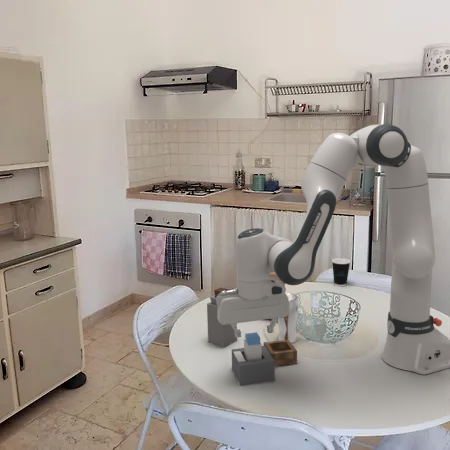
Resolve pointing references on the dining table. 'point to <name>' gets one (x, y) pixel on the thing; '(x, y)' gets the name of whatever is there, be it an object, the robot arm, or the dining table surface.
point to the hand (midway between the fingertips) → (254, 334)
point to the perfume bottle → (218, 325)
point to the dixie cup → (340, 271)
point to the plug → (252, 347)
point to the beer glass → (289, 320)
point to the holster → (282, 352)
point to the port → (253, 367)
